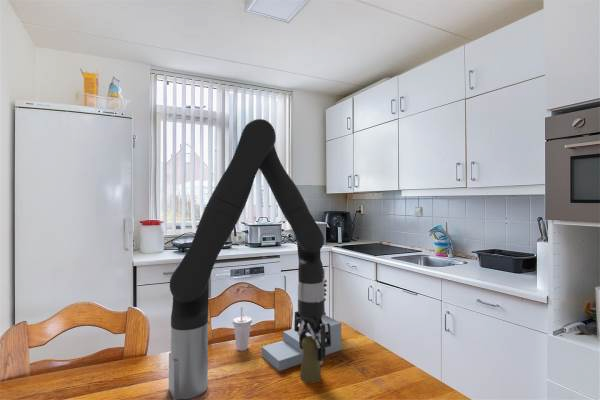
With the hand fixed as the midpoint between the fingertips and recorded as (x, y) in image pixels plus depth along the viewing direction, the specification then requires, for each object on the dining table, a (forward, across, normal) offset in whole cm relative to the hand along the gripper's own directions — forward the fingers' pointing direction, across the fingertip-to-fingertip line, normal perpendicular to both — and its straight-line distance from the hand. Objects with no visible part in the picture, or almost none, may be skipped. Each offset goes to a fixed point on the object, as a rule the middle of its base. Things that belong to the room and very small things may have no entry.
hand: (311, 354), depth 89 cm
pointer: (+6, -5, +6) cm, 10 cm away
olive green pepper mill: (+6, 0, 0) cm, 7 cm away
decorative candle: (+7, -25, +20) cm, 32 cm away
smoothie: (+6, -27, -9) cm, 29 cm away
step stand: (+6, -13, +6) cm, 15 cm away
